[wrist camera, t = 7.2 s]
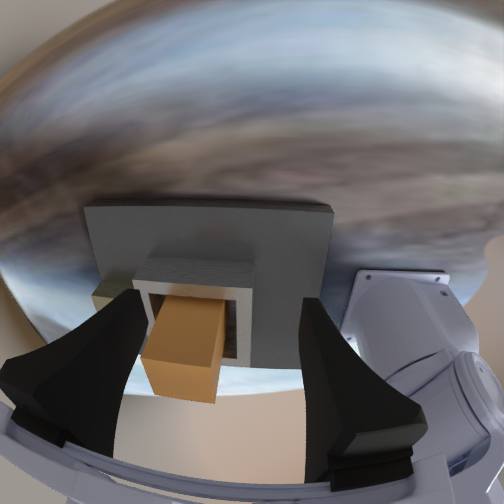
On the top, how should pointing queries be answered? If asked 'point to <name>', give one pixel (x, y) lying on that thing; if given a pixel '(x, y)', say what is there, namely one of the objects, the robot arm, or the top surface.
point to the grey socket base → (217, 264)
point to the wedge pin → (186, 348)
